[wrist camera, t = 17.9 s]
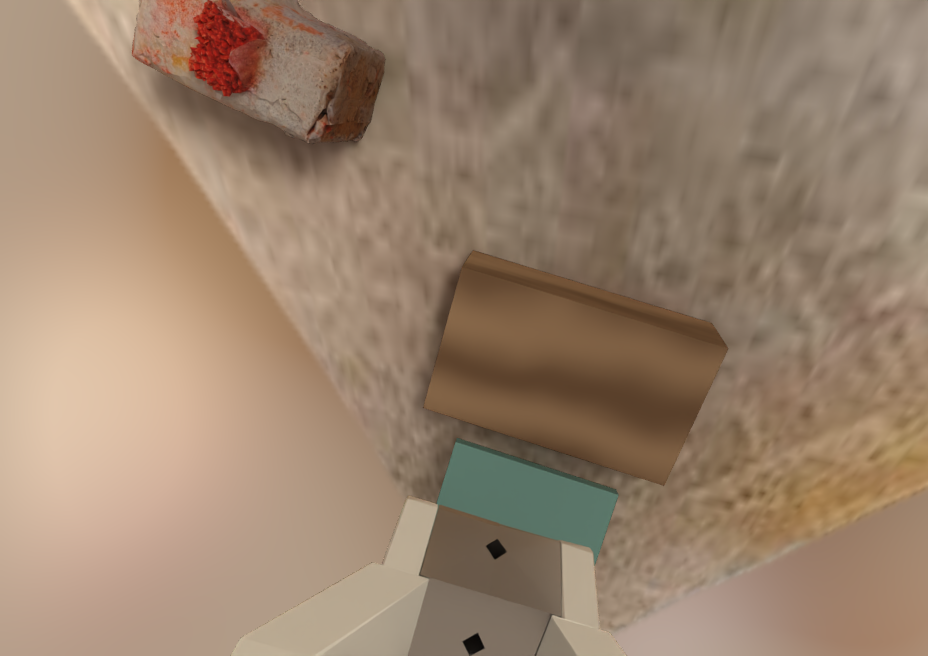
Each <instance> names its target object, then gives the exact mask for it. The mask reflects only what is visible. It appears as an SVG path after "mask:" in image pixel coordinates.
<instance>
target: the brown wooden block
mask: <svg viewBox="0 0 928 656" xmlns="http://www.w3.org/2000/svg"><path fill="white" fill-rule="evenodd" d="M727 351H728V347H727V346H726V344H725V343H724V341H723V340H722V338H721V337H720V335H719V333H718V332H717V330H716V329H715V327H714V326H713V324H712V323H709V322H706V321H703V320H699V319H696V318H693V317H689V316H686V315H683V314H680V313H676V312H673V311H670V310H667V309H663V308H660V307H657V306H653V305H650V304H647V303H644V302H640V301H637V300H634V299H631V298H627V297H624V296H621V295H618V294H614V293H611V292H608V291H604V290H601V289H598V288H595V287H591V286H588V285H585V284H582V283H578V282H575V281H572V280H569V279H565V278H562V277H559V276H555V275H552V274H549V273H546V272H542V271H539V270H536V269H533V268H529V267H526V266H523V265H520V264H516V263H513V262H510V261H506V260H503V259H500V258H497V257H493V256H490V255H487V254H484V253H480V252H477V251H474V250H473V251H472V253H471V254H470V256H469V257H468V259H467V260H466V262H465V263H464V265H463V266H462V269H461V272H460V276H459V280H458V283H457V287H456V291H455V294H454V298H453V301H452V305H451V309H450V312H449V316H448V319H447V323H446V327H445V330H444V334H443V338H442V341H441V345H440V348H439V352H438V356H437V359H436V363H435V366H434V370H433V374H432V377H431V381H430V385H429V388H428V392H427V395H426V399H425V403H424V406H423V408H425V409H428V410H431V411H434V412H437V413H440V414H444V415H447V416H450V417H453V418H456V419H459V420H462V421H465V422H468V423H471V424H475V425H478V426H481V427H484V428H487V429H490V430H493V431H496V432H499V433H502V434H505V435H509V436H512V437H515V438H518V439H521V440H524V441H527V442H530V443H533V444H536V445H540V446H543V447H546V448H549V449H552V450H555V451H558V452H561V453H564V454H567V455H570V456H574V457H577V458H580V459H583V460H586V461H589V462H592V463H595V464H598V465H601V466H605V467H608V468H611V469H614V470H617V471H620V472H623V473H626V474H629V475H632V476H635V477H639V478H642V479H645V480H648V481H651V482H654V483H657V484H660V485H663V486H664V485H665V483H666V481H667V479H668V476H669V474H670V472H671V470H672V468H673V466H674V464H675V461H676V459H677V457H678V455H679V453H680V451H681V449H682V447H683V444H684V442H685V440H686V438H687V436H688V434H689V432H690V429H691V427H692V425H693V423H694V421H695V419H696V417H697V415H698V412H699V410H700V408H701V406H702V404H703V402H704V400H705V397H706V395H707V393H708V391H709V389H710V387H711V385H712V383H713V380H714V378H715V376H716V374H717V372H718V370H719V368H720V365H721V363H722V361H723V359H724V357H725V355H726V353H727Z"/></svg>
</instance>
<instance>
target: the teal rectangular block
mask: <svg viewBox="0 0 928 656" xmlns="http://www.w3.org/2000/svg"><path fill="white" fill-rule="evenodd" d="M617 498H618V493H617V491H616V489H613V488H610V487H607V486H604V485H600V484H597V483H594V482H591V481H588V480H585V479H582V478H579V477H576V476H573V475H570V474H567V473H564V472H560V471H557V470H554V469H551V468H548V467H545V466H542V465H539V464H536V463H533V462H530V461H527V460H524V459H520V458H517V457H514V456H511V455H508V454H505V453H502V452H499V451H496V450H493V449H490V448H487V447H483V446H480V445H477V444H474V443H471V442H468V441H465V440H462V439H459V438H457V440H456V442H455V446H454V449H453V452H452V455H451V458H450V462H449V465H448V468H447V471H446V474H445V478H444V481H443V484H442V487H441V490H440V494H439V497H438V500H437V503H436V504H438V508H439V505H443V506H446V507H449V508H453V509H456V510H459V511H462V512H465V513H468V514H472V515H475V516H478V517H481V518H484V519H487V520H491V521H494V522H497V523H499V524H502V525H506V526H509V527H513V528H516V529H520V530H523V531H527V532H530V533H534V534H537V535H541V536H544V537H548V538H551V539H555V540H558V541H559V540H562V541H566V542H570V543H574V544H578V545H582V546H585V547H589V548H591V550H592V551H593V556H594V566H595V563H596V560H597V557H598V554H599V552H600V549H601V546H602V543H603V540H604V537H605V534H606V531H607V528H608V525H609V522H610V519H611V516H612V513H613V510H614V507H615V504H616V501H617ZM437 511H438V509H437ZM436 515H437V513H436ZM435 518H436V516H435ZM434 522H435V520H434ZM433 525H434V524H433ZM432 528H433V527H432ZM431 532H432V531H431ZM430 536H431V535H430ZM428 543H429V542H428Z"/></svg>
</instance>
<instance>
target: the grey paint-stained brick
mask: <svg viewBox="0 0 928 656" xmlns="http://www.w3.org/2000/svg"><path fill="white" fill-rule="evenodd" d="M136 20H137V24H136V27H135V33H134V40H133V45H132V56H133V57H135V58H136V59H137V60H138V61H140V62H142V63H144V64H146V65H148V66H150V67H152V68H154V69H155V70H157V71H159V72H161V73H162V74H164V75H166V76H168V77H170V78H172V79H174V80H175V81H177V82H179V83H181V84H183V85H185V86H186V87H188V88H190V89H192V90H194V91H196V92H198V93H201V94H203V95H205V96H207V97H209V98H211V99H214V100H216V101H218V102H220V103H222V104H224V105H226V106H228V107H230V108H232V109H234V110H237V111H240V112H242V113H245V114H246V115H248V116H250V117H253V118H255V119H257V120H260V121H262V122H268V123H272V124H274V125H275V126H277V127H279V128H280V129H282V130H284V131H285V134H286V135H288V136H290V137H292V138H300V139H302V140H303V141H305V142H307V143H308V144H309V143H313V144H314V143H318V142H341V141H346V142H348V140H352V141H355V142H357V141H359V140H360V139H361V138H362V137H363V134H364V132H365V130H366V128H367V125H368V124H369V123H370V122H371V118H372V114H373V109H374V103H375V100H376V97H377V94H378V91H379V87H380V84H381V80H382V77H383V74H384V64H385V57H384V54H383V53H382V52H381V51H379V50H375V49H373V48H372V47H370V46H367V44H366V43H365V42H364V41H362V40H361V39H359V38H357V37H356V36H354V35H352V34H349V33H347V32H345V31H343V30H340V29H338V28H336V27H334V26H332V25H330V24H325V23H323V22H322V21H320V20H318V19H317V18H314V17H313V15H312V14H311V13H309V12H307V11H305V10H303V9H302V8H301V6H300V5H299V3H298V0H140V1H139V12H138V14H137V18H136Z"/></svg>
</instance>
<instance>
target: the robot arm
mask: <svg viewBox="0 0 928 656" xmlns="http://www.w3.org/2000/svg"><path fill="white" fill-rule="evenodd" d="M437 509H438V511H437ZM436 513H437V515H436ZM435 516H436V518H435ZM434 520H435V522H434ZM433 524H434V525H433ZM432 527H433V528H432ZM431 531H432V532H431ZM430 535H431V536H430ZM428 542H429V543H428ZM230 656H627V655H626V654H625V652H624V651H623V650H622V648H621V647H620V646H619V644H618V643H617V641H616V640H615V639H614V637H613V636H612V635H611V633H610V632H607V631H604V630H600V622H599V611H598V600H597V589H596V578H595V567H594V556H593V551H592V550H591V548H589V547H585V546H582V545H578V544H574V543H570V542H566V541H562V540H559V541H558V540H555V539H551V538H548V537H544V536H541V535H537V534H534V533H530V532H527V531H523V530H520V529H516V528H513V527H509V526H506V525H502V524H499V523H497V522H494V521H491V520H487V519H484V518H481V517H478V516H475V515H472V514H468V513H465V512H462V511H459V510H456V509H453V508H449V507H446V506H443V505H439V508H438V504H436V503H433V502H429V501H426V500H423V499H419V498H416V497H413V496H408V497H407V499H406V500H405V502H404V505H403V508H402V511H401V513H400V516H399V519H398V522H397V524H396V527H395V529H394V532H393V535H392V538H391V540H390V543H389V546H388V548H387V551H386V554H385V556H384V559H383V562H382V564H377V563H374V562H372V563H370V564H368V565H366V566H365V567H363V568H361V569H359V570H358V571H356V572H354V573H352V574H351V575H349V576H347V577H346V578H344V579H342V580H340V581H339V582H337V583H335V584H333V585H332V586H330V587H328V588H327V589H325V590H323V591H321V592H319V593H318V594H316V595H314V596H312V597H311V598H309V599H307V600H306V601H304V602H302V603H300V604H299V605H297V606H295V607H293V608H292V609H290V610H288V611H286V612H285V613H283V614H281V615H279V616H278V617H276V618H275V619H272V620H271V621H269V622H267V623H265V624H264V625H262V626H260V627H259V628H257V629H255V630H253V631H252V632H250V633H249V634H246V635H245V636H243V637H241V638H240V640H239V642H238V644H237V645H236V647H235V649H234V650H233V652H232V654H231V655H230Z"/></svg>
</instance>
